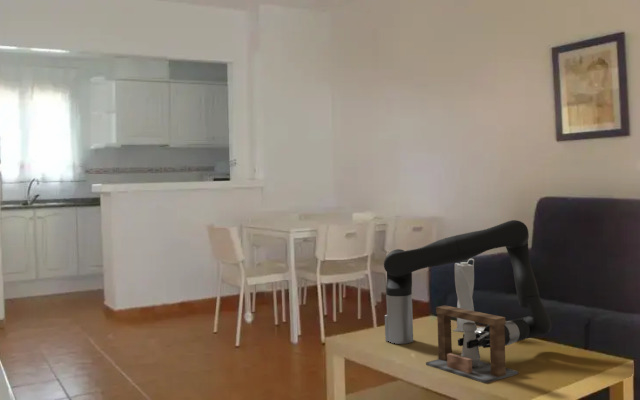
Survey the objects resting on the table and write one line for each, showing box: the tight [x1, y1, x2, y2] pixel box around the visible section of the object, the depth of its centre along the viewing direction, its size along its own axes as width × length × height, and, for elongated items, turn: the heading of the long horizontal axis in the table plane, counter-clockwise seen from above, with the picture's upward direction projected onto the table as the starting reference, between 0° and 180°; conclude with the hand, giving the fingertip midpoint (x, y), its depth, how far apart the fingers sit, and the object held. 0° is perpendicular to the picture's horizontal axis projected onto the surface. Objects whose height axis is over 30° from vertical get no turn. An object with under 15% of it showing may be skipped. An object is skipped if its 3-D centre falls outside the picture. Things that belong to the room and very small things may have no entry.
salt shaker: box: [460, 322, 481, 366], centre depth 208 cm, size 6×6×13 cm
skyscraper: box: [452, 258, 476, 333], centre depth 258 cm, size 8×8×28 cm
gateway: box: [425, 304, 519, 384], centre depth 208 cm, size 25×14×18 cm, turn 34°
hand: (463, 343), depth 206 cm, fingers open, 3 cm apart
